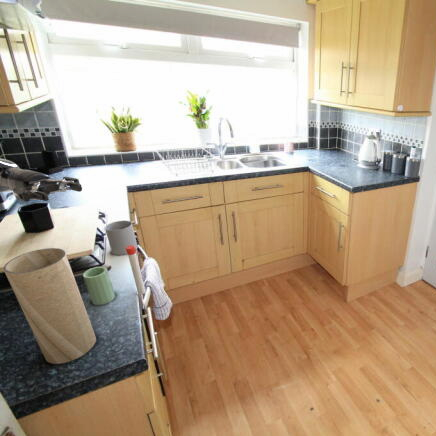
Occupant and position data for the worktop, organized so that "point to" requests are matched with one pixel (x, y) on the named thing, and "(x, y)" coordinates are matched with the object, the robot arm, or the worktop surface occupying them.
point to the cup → (120, 236)
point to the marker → (135, 269)
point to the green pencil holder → (99, 285)
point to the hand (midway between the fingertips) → (64, 192)
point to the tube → (51, 303)
